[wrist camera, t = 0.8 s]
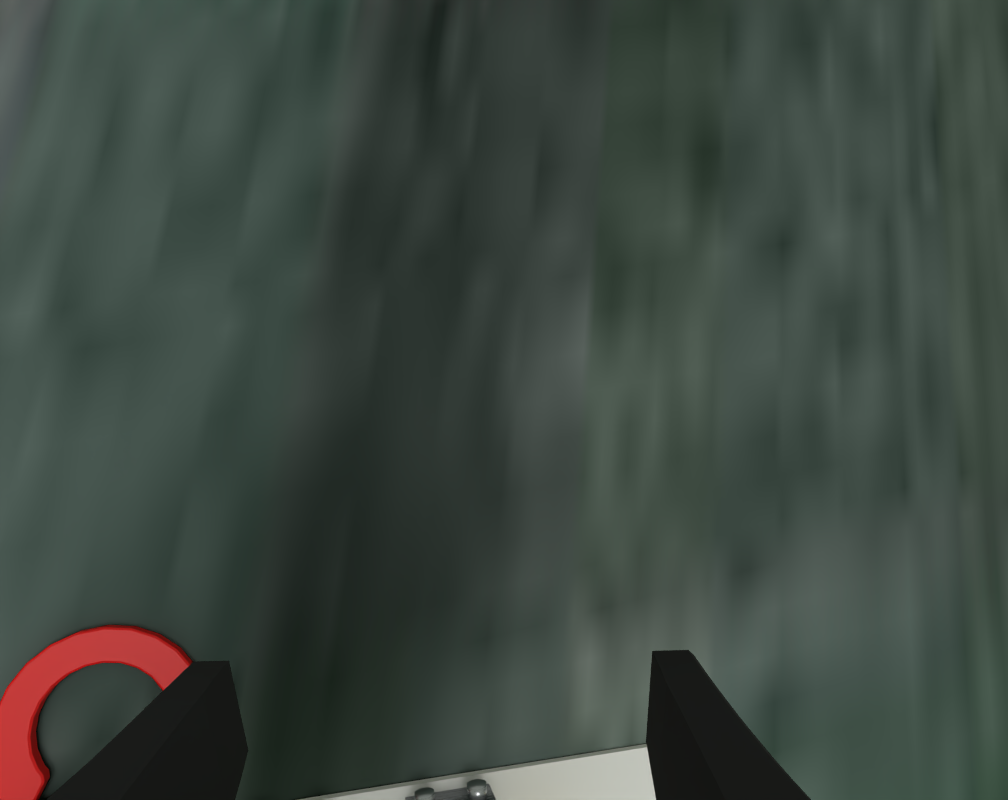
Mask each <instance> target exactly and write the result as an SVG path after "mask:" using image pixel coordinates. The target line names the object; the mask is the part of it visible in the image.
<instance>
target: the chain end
mask: <svg viewBox="0 0 1008 800" xmlns="http://www.w3.org/2000/svg"><path fill="white" fill-rule="evenodd" d="M414 794H415V796H410V797H405V800H496V798H495V796H494V794H493V792H492V789H491V787H490V785H489V784H486V781H485V780H483V779H474V780H471V781H469V782H468V783H467V787H464V788H458V789H452V790H446V791H440V792H434V789H433V788H429V787H425V788H420V789H418V790H416V791H415V793H414Z"/></svg>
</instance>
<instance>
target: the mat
mask: <svg viewBox="0 0 1008 800" xmlns="http://www.w3.org/2000/svg"><path fill="white" fill-rule="evenodd" d="M474 779H483V780H485V781H486V784H489V785H490V787H491V789H492V792H493V794H494V796H495V798H496V800H656V796H655V790H654V785H653V779H652V774H651V768H650V762H649V756H648V750H647V744H642V745H636V746H629V747H623V748H617V749H611V750H604V751H598V752H592V753H585V754H579V755H573V756H567V757H560V758H554V759H548V760H542V761H535V762H529V763H523V764H517V765H510V766H504V767H498V768H492V769H485V770H479V771H473V772H466V773H460V774H454V775H448V776H441V777H435V778H429V779H423V780H416V781H410V782H404V783H398V784H391V785H385V786H379V787H373V788H366V789H360V790H354V791H347V792H341V793H335V794H329V795H322V796H316V797H310V798H304V799H297V800H405V797H410V796H415V794H414V793H415V791H416V790H418V789H420V788H425V787H429V788H433V789H434V792H440V791H446V790H452V789H458V788H464V787H467V783H468V782H469V781H471V780H474Z"/></svg>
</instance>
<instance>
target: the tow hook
mask: <svg viewBox="0 0 1008 800" xmlns="http://www.w3.org/2000/svg"><path fill="white" fill-rule="evenodd" d="M103 662H105V663H123V664H126V665H130V666H133V667H136V668H138V669H140V670H142V671H143V672H145V673H146V674H148V675H149V676H151V677H152V678H153V679H154V680H155V682H156V683H157V684H158V685H159V686H160V688H161V689H162V691H163V690H164V689H165V688H166V687H167V686H168V685H170V684H171V683H172V682H173V681H174V680H175V679H176V678H177V677H178V676H179V675H180V674H181V673H182V672H183V671H184V670H185V669H186V668H187V667H188V666H189V665H190V664H191V663H192V660H191V659H190V658H189V657H188V656H187V655H186V653H185V652H184V651H183V650H182V649H181V648H180V647H179V646H178V645H176V644H175V643H173V642H171V641H170V640H168V639H167V638H165V637H164V636H162V635H161V634H159V633H156V632H153V631H149V630H146V629H143V628H140V627H137V626H123V625H105V626H101V627H96V628H91V629H86V630H81V631H79V632H77V633H75V634H72V635H70V636H68V637H66V638H64V639H62V640H59V641H57V642H55V643H53V644H51V645H49V646H48V647H47V648H46V649H44V650H43V651H42V652H40V653H39V654H38V655H37V656H35V657H34V658H33V659H31V660H30V661H29V662H27V663H26V664H25V666H24V667H23V668H22V669H21V671H20V672H19V673H18V674H17V675H16V677H15V678H14V679H13V680H12V682H11V683H10V684H9V685H8V687H7V689H6V691H5V693H4V695H3V697H2V699H1V701H0V800H39V798H40V796H41V794H42V792H43V790H44V788H45V786H46V784H47V782H48V780H49V778H50V773H49V769H48V768H47V767H46V766H45V764H44V762H43V760H42V758H41V755H40V753H39V751H38V747H37V737H36V729H37V723H38V717H39V713H40V711H41V709H42V707H43V705H44V702H45V700H46V698H47V697H48V695H49V694H50V693H51V692H52V690H53V689H54V688H55V687H56V685H57V684H58V683H59V682H60V681H61V680H63V679H64V678H65V677H67V676H68V675H69V674H70V673H72V672H75V671H77V670H79V669H81V668H83V667H85V666H89V665H94V664H99V663H103Z"/></svg>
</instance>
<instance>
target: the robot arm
mask: <svg viewBox="0 0 1008 800" xmlns="http://www.w3.org/2000/svg"><path fill="white" fill-rule="evenodd" d="M646 744H647V750H648V756H649V762H650V768H651V774H652V779H653V785H654V790H655V796H656V800H811V799H810V798H809V797H808V796H807V795H806V794H805V793H804V792H803V790H802V789H801V788H800V787H799V786H798V785H797V784H796V783H795V782H794V781H793V780H792V779H791V777H790V776H789V775H788V774H787V773H786V772H785V771H784V769H783V768H782V767H781V766H780V765H779V764H778V763H777V762H776V760H775V759H774V758H773V757H772V756H771V754H770V753H769V752H768V751H767V750H766V748H765V747H764V746H763V745H762V744H761V742H760V741H759V740H758V739H757V738H756V736H755V735H754V734H753V733H752V732H751V730H750V729H749V728H748V727H747V726H746V724H745V723H744V722H743V721H742V719H741V718H740V717H739V716H738V714H737V713H736V712H735V710H734V709H733V708H732V707H731V705H730V704H729V703H728V701H727V700H726V699H725V697H724V696H723V695H722V693H721V692H720V691H719V689H718V688H717V687H716V685H715V684H714V683H713V681H712V680H711V679H710V677H709V676H708V674H707V673H706V672H705V670H704V669H703V667H702V666H701V665H700V663H699V662H698V660H697V659H696V657H695V656H694V655H693V654H692V653H691V652H690V651H689V650H673V651H652V664H651V678H650V692H649V707H648V721H647V735H646ZM247 753H248V747H247V743H246V738H245V733H244V729H243V724H242V719H241V715H240V710H239V705H238V701H237V696H236V692H235V687H234V682H233V678H232V673H231V668H230V664H229V661H201V662H192V663H191V664H190V665H189V666H188V667H187V668H186V669H185V670H184V671H183V672H182V673H181V674H180V675H179V676H178V677H177V678H176V679H175V680H174V681H173V682H172V683H171V684H170V685H168V686H167V687H166V688H165V689H164V690H163V691H162V692H161V693H160V694H159V695H158V696H157V697H156V698H155V699H154V700H153V701H152V702H151V703H150V704H149V705H148V706H147V707H146V708H145V709H144V710H143V711H142V712H141V713H140V714H139V715H138V716H137V717H136V718H135V719H134V720H133V721H132V722H131V723H129V724H128V725H127V726H126V727H125V728H124V729H123V730H122V731H121V732H120V733H119V734H118V735H117V736H116V737H115V738H114V739H113V740H112V741H111V742H110V743H108V744H107V745H106V746H105V747H104V748H103V749H102V750H101V751H100V752H99V753H98V754H97V755H96V756H95V757H94V758H93V759H92V760H91V761H89V762H88V763H87V764H86V765H85V766H84V767H83V768H82V769H81V770H79V771H78V772H77V773H76V774H75V775H74V776H73V777H72V778H70V779H69V780H68V781H67V782H66V783H65V784H64V785H62V786H61V787H60V788H59V789H58V790H57V791H56V792H55V793H53V794H52V795H51V796H50V797H49V798H48V799H47V800H235V797H236V794H237V790H238V787H239V783H240V780H241V776H242V772H243V768H244V764H245V760H246V757H247Z"/></svg>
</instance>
